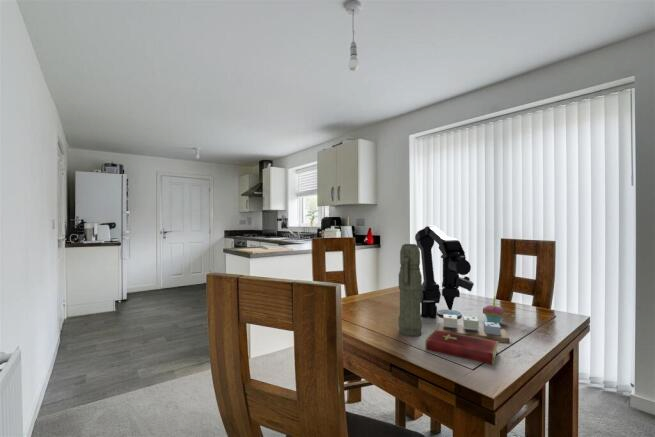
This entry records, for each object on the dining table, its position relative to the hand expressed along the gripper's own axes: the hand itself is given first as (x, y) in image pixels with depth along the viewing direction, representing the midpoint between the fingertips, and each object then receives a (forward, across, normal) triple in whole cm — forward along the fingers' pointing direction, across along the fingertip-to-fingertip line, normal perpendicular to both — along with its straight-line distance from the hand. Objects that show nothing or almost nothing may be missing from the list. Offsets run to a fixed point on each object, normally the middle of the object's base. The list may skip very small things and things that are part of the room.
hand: (450, 309), depth 126 cm
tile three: (+7, 0, -15) cm, 17 cm away
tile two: (+6, 0, -7) cm, 9 cm away
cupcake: (+9, +19, -18) cm, 28 cm away
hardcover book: (+9, -19, -3) cm, 21 cm away
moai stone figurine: (+9, -7, +15) cm, 19 cm away
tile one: (+6, 0, 0) cm, 6 cm away
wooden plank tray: (+9, 0, -8) cm, 11 cm away
